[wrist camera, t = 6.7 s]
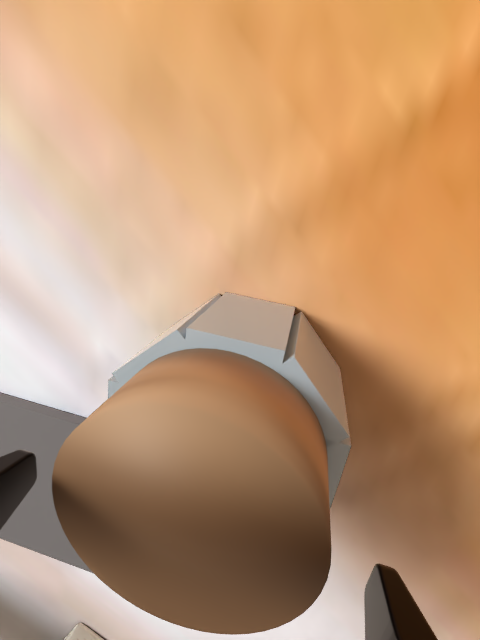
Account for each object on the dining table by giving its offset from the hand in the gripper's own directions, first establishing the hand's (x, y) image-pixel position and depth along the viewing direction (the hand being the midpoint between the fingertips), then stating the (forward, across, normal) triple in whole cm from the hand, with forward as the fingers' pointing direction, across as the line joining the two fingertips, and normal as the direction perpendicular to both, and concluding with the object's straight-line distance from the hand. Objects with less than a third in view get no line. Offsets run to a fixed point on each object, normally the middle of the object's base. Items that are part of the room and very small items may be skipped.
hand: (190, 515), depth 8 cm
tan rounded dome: (+3, 0, 0) cm, 3 cm away
